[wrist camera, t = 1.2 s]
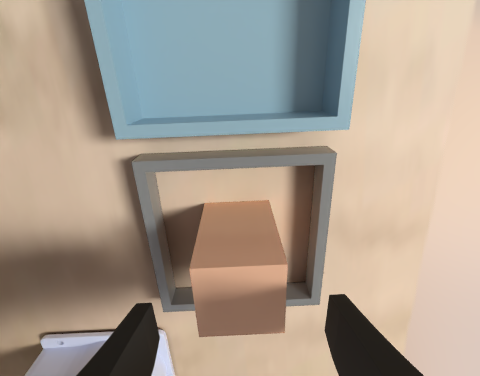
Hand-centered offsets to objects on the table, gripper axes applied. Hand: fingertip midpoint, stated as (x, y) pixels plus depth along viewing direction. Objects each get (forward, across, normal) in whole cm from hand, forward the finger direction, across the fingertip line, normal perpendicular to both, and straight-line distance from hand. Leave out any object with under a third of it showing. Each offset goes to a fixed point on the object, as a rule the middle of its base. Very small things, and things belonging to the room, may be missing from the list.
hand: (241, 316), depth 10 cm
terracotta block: (+7, 0, 0) cm, 7 cm away
